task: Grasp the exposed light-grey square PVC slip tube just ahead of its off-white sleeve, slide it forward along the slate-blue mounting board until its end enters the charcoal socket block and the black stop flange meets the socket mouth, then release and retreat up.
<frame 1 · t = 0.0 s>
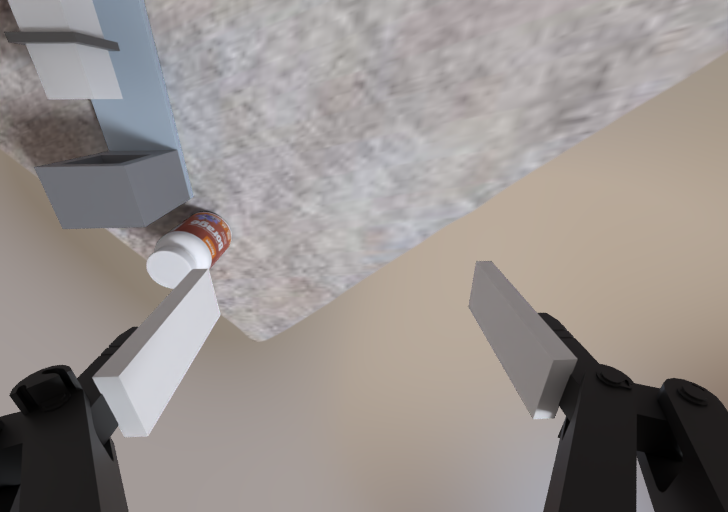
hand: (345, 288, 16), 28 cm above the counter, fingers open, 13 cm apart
socket: (151, 175, 39), resting on mounting board
mounting board: (119, 52, 34), on the counter
pill bottle: (210, 231, 44), on the counter
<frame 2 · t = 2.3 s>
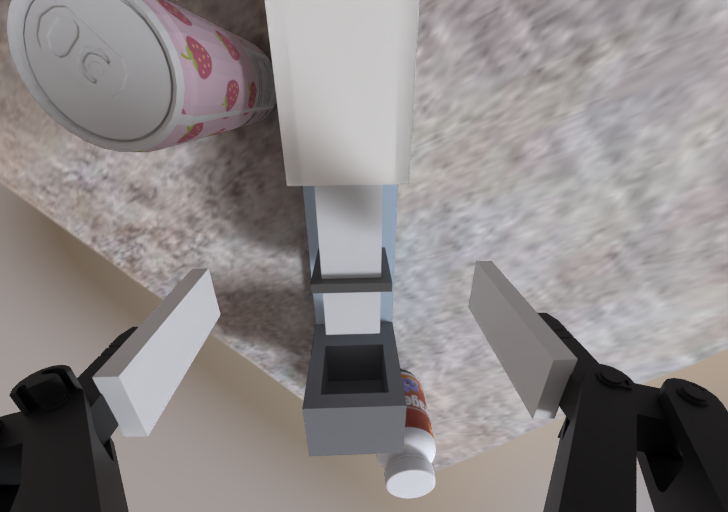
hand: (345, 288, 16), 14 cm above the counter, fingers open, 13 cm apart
slip tube: (348, 163, 20), point 7 cm above the counter, slide at 0.0 cm
beverage can: (241, 83, 24), on the counter
socket: (354, 345, 34), resting on mounting board
sleeve: (347, 92, 23), resting on mounting board
mounting board: (351, 231, 29), on the counter
pill bottle: (396, 385, 39), on the counter
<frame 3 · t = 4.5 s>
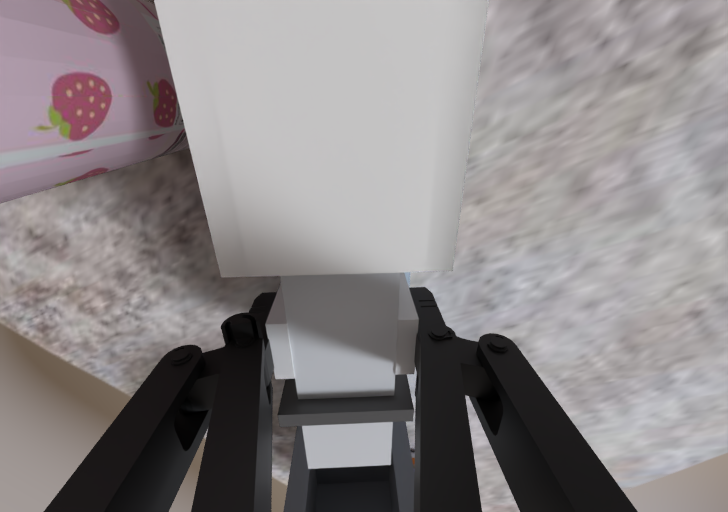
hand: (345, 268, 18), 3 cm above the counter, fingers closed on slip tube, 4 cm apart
slip tube: (340, 218, 12), point 7 cm above the counter, slide at 0.0 cm, touching gripper
beverage can: (179, 84, 16), on the counter
socket: (352, 427, 26), resting on mounting board
sleeve: (340, 98, 15), resting on mounting board
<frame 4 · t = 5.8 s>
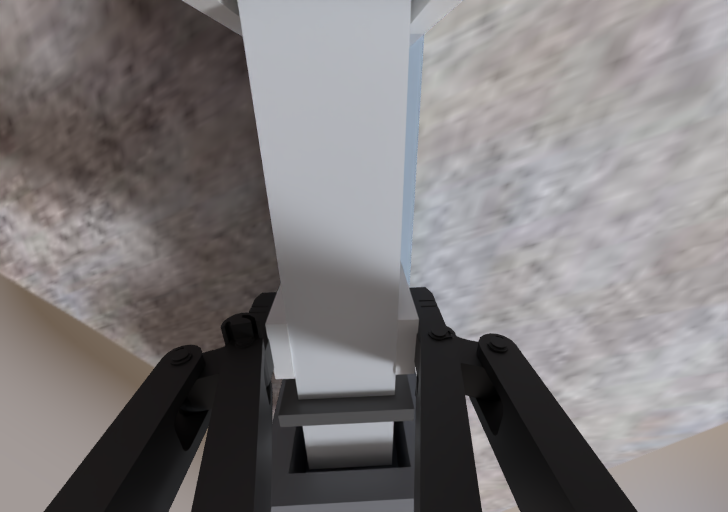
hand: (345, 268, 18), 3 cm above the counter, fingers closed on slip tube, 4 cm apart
slip tube: (339, 218, 12), point 7 cm above the counter, slide at 6.6 cm, touching gripper
socket: (350, 369, 23), resting on mounting board
mounting board: (343, 193, 18), on the counter
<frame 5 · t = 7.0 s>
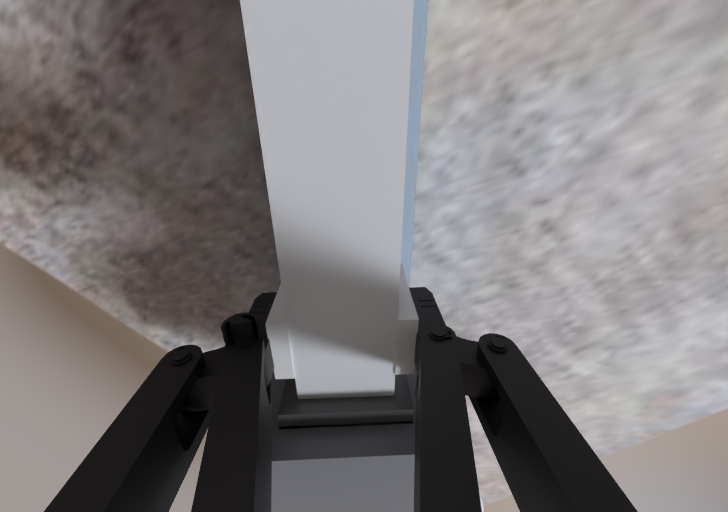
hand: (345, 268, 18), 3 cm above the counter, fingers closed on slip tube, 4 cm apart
slip tube: (340, 218, 12), point 7 cm above the counter, slide at 9.6 cm, touching gripper
socket: (349, 338, 22), resting on mounting board
mounting board: (342, 138, 17), on the counter
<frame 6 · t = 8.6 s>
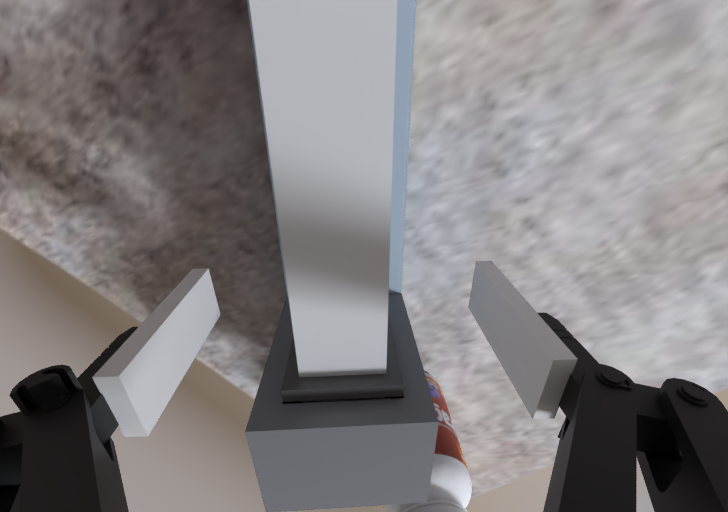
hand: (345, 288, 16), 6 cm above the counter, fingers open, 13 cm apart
slip tube: (337, 212, 13), point 7 cm above the counter, slide at 9.6 cm
socket: (345, 329, 23), resting on mounting board
mounting board: (338, 142, 19), on the counter
pill bottle: (404, 390, 28), on the counter
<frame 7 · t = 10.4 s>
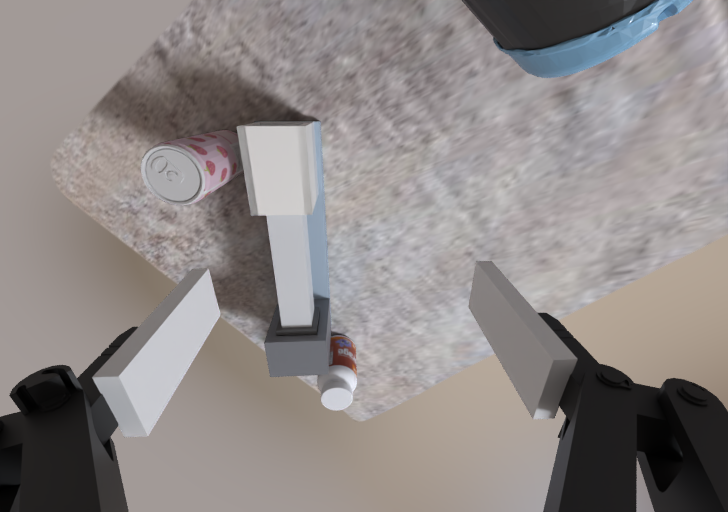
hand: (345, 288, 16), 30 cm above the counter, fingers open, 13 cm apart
slip tube: (294, 273, 41), point 7 cm above the counter, slide at 9.6 cm
beverage can: (229, 152, 41), on the counter
socket: (305, 314, 51), resting on mounting board
sleeve: (290, 159, 41), resting on mounting board
mounting board: (299, 238, 47), on the counter
pill bottle: (338, 346, 56), on the counter
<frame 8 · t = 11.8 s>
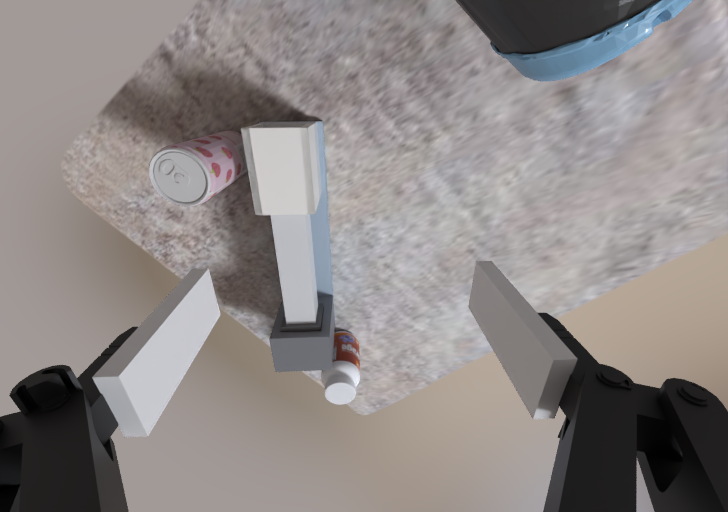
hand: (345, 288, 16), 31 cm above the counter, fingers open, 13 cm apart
slip tube: (297, 271, 42), point 7 cm above the counter, slide at 9.6 cm
beverage can: (234, 153, 42), on the counter
socket: (309, 311, 52), resting on mounting board
sleeve: (294, 159, 41), resting on mounting board
mounting board: (303, 236, 47), on the counter
pill bottle: (342, 342, 57), on the counter
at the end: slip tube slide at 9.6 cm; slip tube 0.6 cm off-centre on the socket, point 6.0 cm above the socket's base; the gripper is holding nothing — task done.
